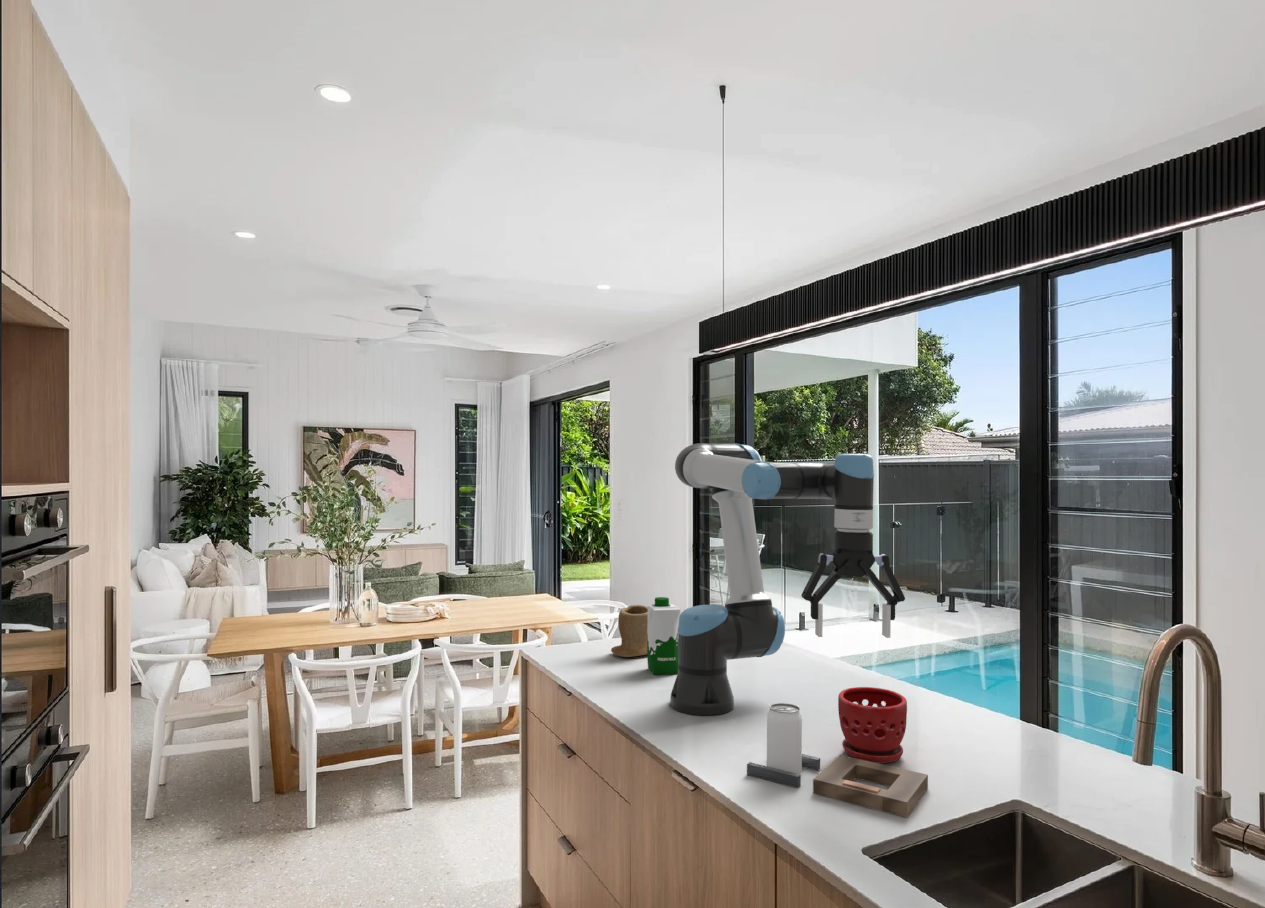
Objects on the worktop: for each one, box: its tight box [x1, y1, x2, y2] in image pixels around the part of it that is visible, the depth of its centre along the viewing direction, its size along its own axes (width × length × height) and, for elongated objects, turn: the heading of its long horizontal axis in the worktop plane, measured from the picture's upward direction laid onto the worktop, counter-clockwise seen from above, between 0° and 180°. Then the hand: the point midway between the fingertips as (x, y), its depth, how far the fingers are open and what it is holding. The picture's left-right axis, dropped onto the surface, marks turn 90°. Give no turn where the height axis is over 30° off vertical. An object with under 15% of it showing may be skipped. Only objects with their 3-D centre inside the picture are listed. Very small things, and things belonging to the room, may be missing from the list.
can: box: [766, 702, 803, 775], centre depth 144 cm, size 6×6×12 cm
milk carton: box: [646, 596, 682, 676], centre depth 214 cm, size 9×9×20 cm
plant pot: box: [837, 686, 908, 764], centre depth 152 cm, size 13×13×12 cm
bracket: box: [746, 753, 821, 789], centre depth 144 cm, size 10×11×2 cm
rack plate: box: [812, 754, 929, 818], centre depth 135 cm, size 16×14×3 cm
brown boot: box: [610, 604, 648, 658], centre depth 232 cm, size 15×12×15 cm
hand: (852, 636), depth 154 cm, fingers open, 13 cm apart
